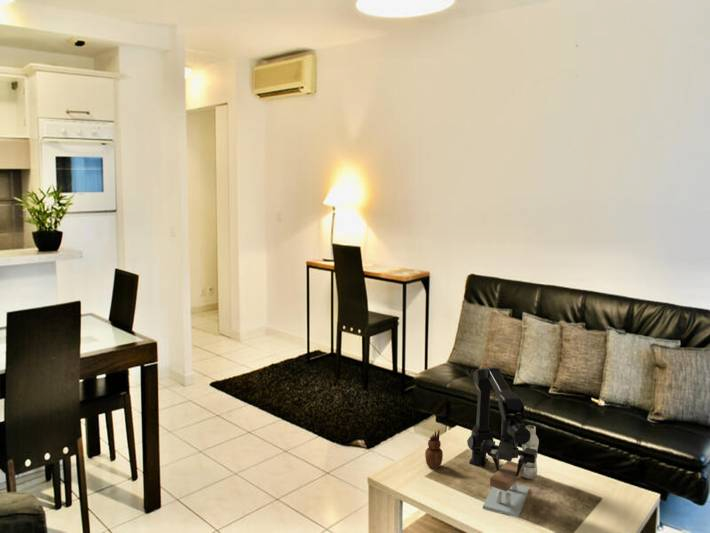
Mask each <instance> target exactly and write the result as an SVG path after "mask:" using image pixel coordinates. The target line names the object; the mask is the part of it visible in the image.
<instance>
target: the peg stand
mask: <svg viewBox="0 0 710 533" xmlns="http://www.w3.org/2000/svg"><path fill="white" fill-rule="evenodd" d="M529 491H530V487H528V486H524V485H520V484H518V480H517V481H516V482H515V483H514V484H513V485H512V486H511V487H510V488H509V490H508V491H507V492H506V491H503V490H500V489H498V488H495V487H492V486H491V489H490V491H489V493H488V495H487V497H486V499H485V501H484V503H483V504H482V509H483V510H488V511H491V512H496V513H500V514H503V515H507V516H511V517H514V518H519V516H520V514H521V511H522V510H523V507H524V504H525V501H526V500H527V496H528V494H529Z"/></svg>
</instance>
